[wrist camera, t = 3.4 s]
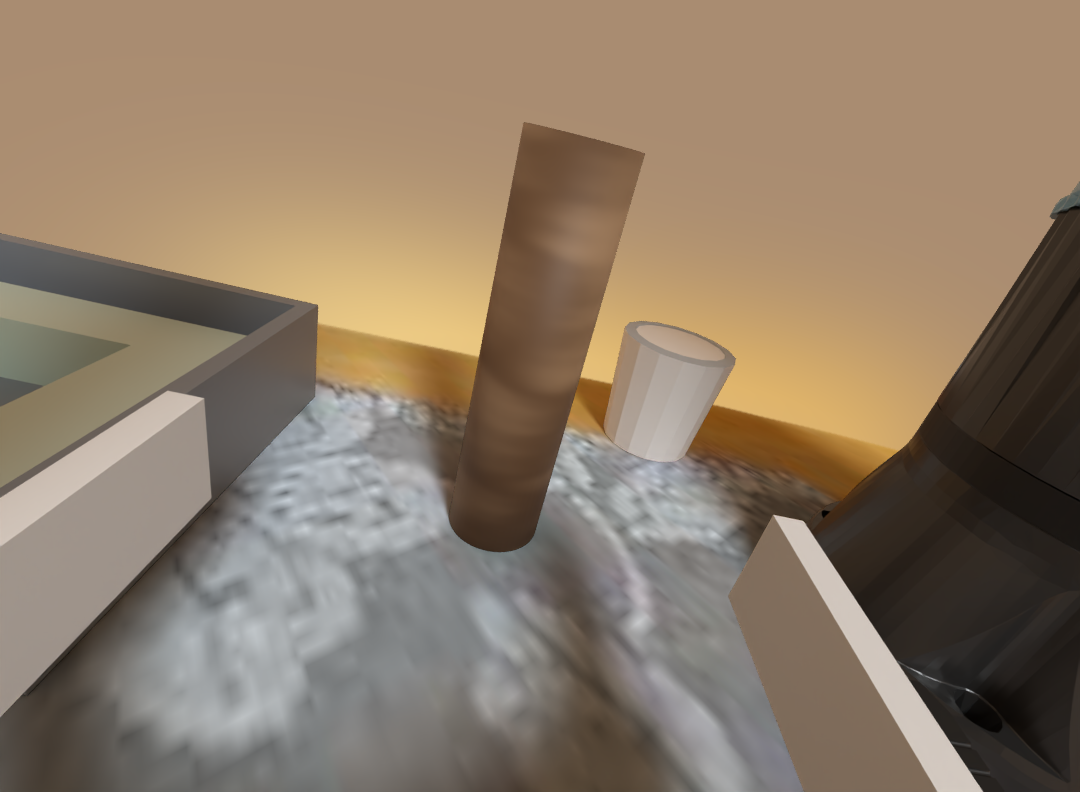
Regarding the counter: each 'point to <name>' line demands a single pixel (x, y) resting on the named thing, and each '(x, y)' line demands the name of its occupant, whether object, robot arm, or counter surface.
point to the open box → (140, 361)
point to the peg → (538, 327)
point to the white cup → (663, 389)
